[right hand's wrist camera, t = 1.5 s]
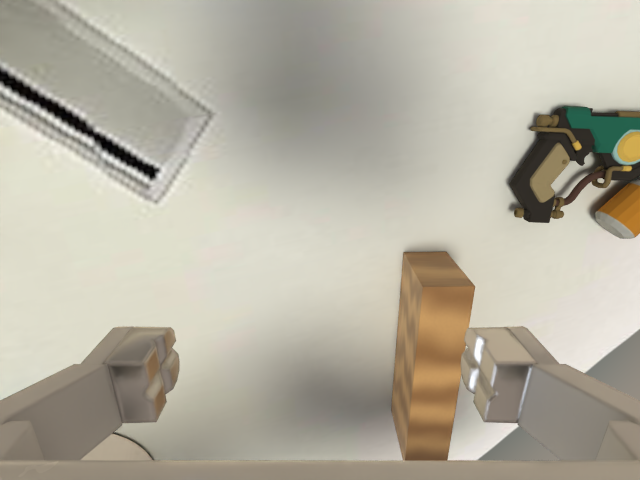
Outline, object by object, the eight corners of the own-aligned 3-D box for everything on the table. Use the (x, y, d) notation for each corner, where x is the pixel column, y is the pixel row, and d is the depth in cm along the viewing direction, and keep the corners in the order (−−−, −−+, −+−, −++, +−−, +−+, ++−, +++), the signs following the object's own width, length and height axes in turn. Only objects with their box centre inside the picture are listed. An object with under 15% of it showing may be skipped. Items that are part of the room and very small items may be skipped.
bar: (403, 252, 42) (422, 286, 35) (446, 251, 42) (475, 286, 35) (391, 409, 51) (404, 466, 43) (426, 409, 51) (446, 465, 43)
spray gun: (486, 205, 41) (553, 63, 36) (623, 250, 42) (706, 116, 37) (502, 215, 37) (581, 56, 32) (654, 264, 38) (751, 116, 33)
